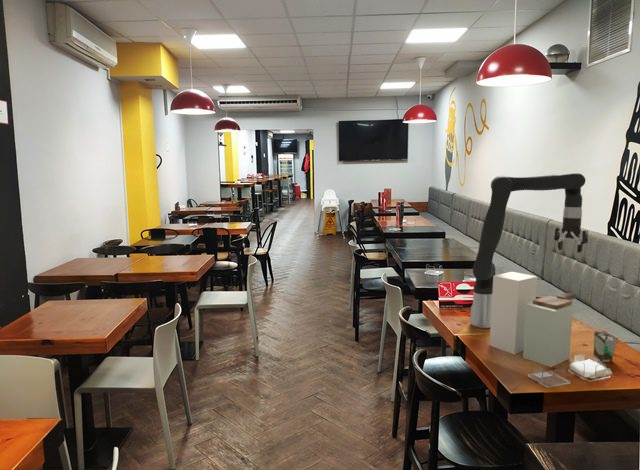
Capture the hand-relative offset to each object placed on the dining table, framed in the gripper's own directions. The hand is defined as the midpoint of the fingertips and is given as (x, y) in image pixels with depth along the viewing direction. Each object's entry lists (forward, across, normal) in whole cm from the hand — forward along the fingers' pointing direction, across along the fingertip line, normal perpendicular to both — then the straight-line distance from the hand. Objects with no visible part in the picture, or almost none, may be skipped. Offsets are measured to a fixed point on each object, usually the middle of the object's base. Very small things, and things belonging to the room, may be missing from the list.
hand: (569, 251), depth 217 cm
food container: (+40, +26, -16) cm, 51 cm away
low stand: (+40, +11, -35) cm, 54 cm away
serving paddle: (+17, +11, -27) cm, 34 cm away
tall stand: (+40, -5, -35) cm, 53 cm away
